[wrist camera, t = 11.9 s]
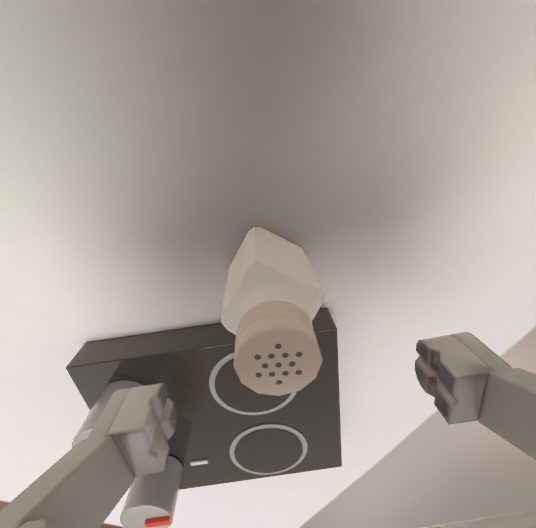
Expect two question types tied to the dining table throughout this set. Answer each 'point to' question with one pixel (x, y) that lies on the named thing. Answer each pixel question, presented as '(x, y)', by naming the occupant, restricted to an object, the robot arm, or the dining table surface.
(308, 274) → the pepper shaker
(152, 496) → the hob knob
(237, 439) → the hob zones
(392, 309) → the dining table surface
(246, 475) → the hob
